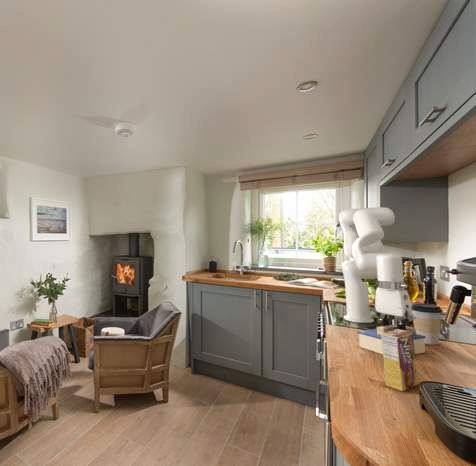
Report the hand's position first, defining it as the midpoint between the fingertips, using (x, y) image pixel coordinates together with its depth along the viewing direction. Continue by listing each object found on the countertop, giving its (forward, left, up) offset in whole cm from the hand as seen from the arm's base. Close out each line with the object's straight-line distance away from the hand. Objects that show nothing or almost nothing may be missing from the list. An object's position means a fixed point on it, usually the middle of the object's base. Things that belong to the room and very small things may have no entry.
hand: (393, 332), depth 113 cm
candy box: (+30, +21, -7) cm, 37 cm away
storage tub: (+2, 0, -6) cm, 7 cm away
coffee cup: (-20, -1, -7) cm, 21 cm away
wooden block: (0, 0, 0) cm, 1 cm away
